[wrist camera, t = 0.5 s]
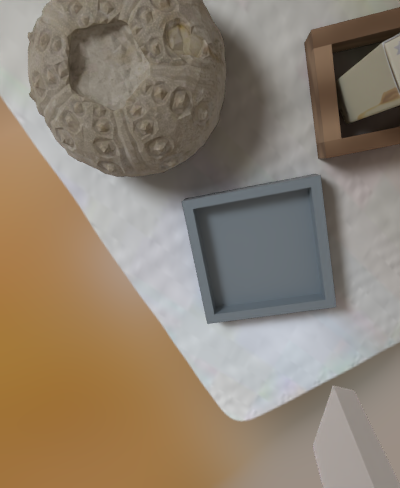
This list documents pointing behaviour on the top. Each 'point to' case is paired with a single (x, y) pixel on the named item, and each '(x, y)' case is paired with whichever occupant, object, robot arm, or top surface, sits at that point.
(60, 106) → the decorative shell
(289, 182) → the tray
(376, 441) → the robot arm
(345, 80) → the skincare box
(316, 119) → the socket block
